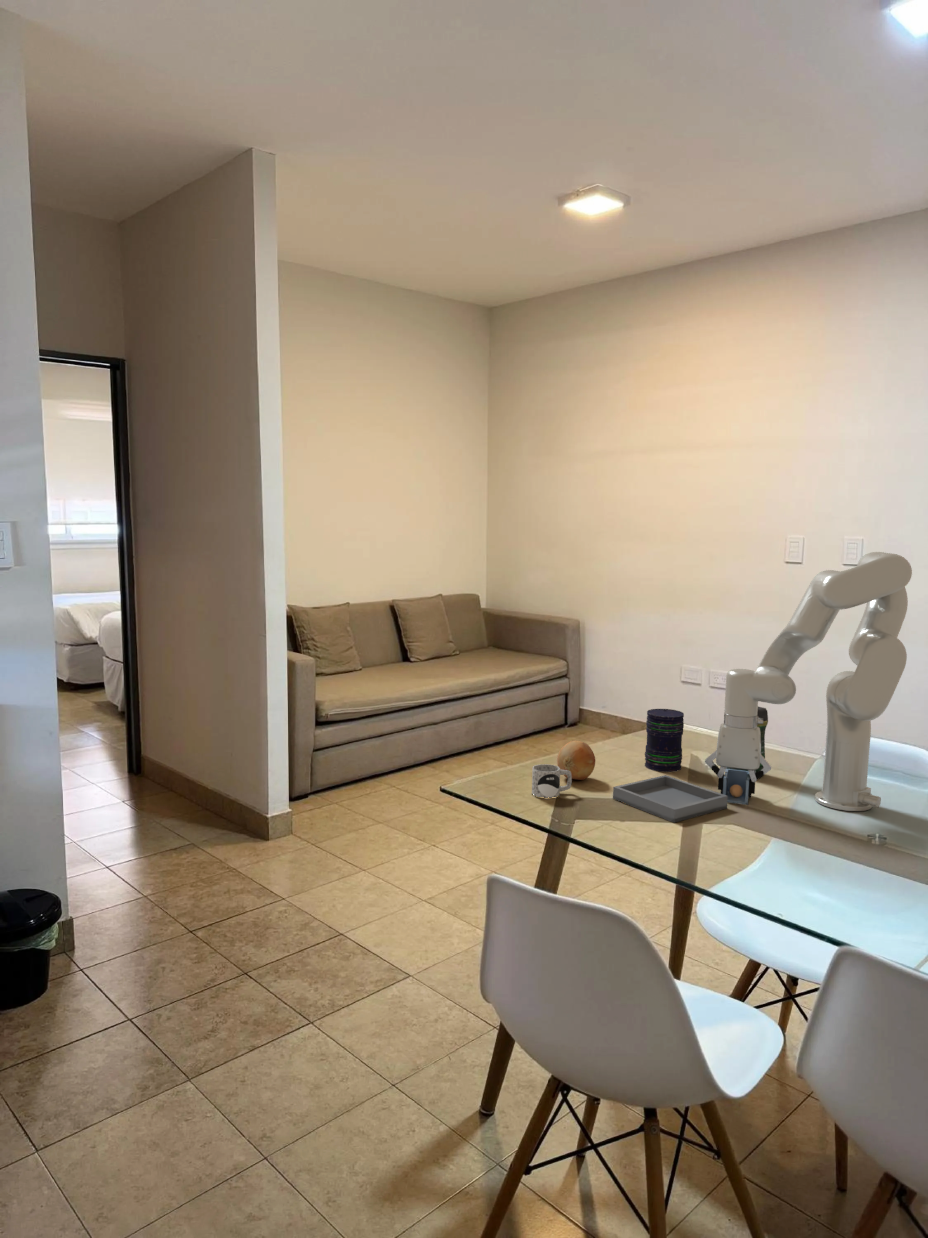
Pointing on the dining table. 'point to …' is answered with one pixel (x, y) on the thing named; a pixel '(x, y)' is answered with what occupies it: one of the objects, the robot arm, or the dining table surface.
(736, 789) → the ball
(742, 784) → the blue open box
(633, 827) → the dining table surface
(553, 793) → the mug
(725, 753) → the robot arm
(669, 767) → the storage jar
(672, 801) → the tray
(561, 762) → the onion
